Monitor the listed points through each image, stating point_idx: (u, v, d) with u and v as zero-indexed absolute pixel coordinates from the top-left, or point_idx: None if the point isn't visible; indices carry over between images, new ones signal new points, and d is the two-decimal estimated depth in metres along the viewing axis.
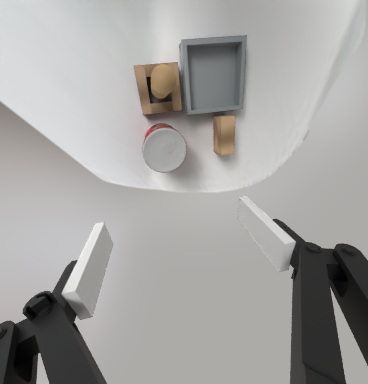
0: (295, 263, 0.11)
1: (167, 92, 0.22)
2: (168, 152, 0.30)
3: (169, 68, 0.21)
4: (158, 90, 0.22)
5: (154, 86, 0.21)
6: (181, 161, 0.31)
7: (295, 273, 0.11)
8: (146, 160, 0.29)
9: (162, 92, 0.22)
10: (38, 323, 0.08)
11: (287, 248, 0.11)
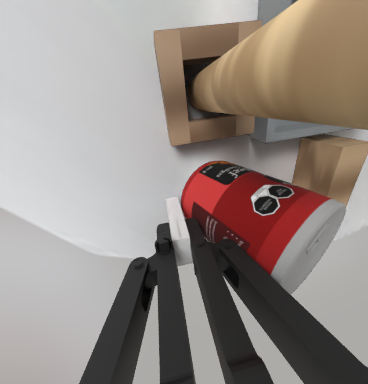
0: (193, 261, 0.12)
1: None
2: (311, 250, 0.12)
3: None
4: (360, 110, 0.03)
5: (350, 84, 0.03)
6: (320, 255, 0.14)
7: (196, 270, 0.12)
8: None
9: None
10: (160, 257, 0.11)
11: (183, 243, 0.12)
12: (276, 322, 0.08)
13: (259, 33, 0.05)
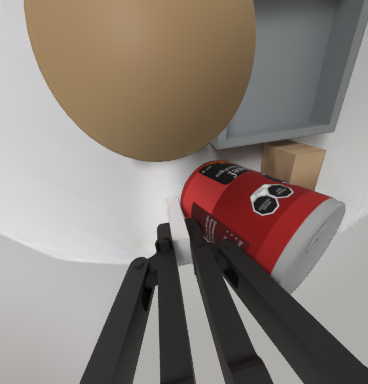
0: (193, 261, 0.12)
1: (182, 149, 0.03)
2: (311, 250, 0.12)
3: None
4: (117, 140, 0.03)
5: (80, 114, 0.03)
6: (320, 254, 0.14)
7: (196, 270, 0.12)
8: None
9: (147, 151, 0.03)
10: (160, 257, 0.11)
11: (183, 243, 0.12)
12: (276, 322, 0.08)
13: None
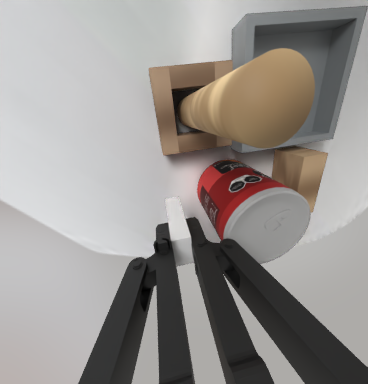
0: (194, 261, 0.12)
1: (276, 142, 0.07)
2: (273, 230, 0.15)
3: (302, 64, 0.06)
4: (250, 138, 0.06)
5: (240, 126, 0.06)
6: (293, 244, 0.16)
7: (197, 269, 0.12)
8: None
9: (261, 143, 0.07)
10: (159, 257, 0.11)
11: (184, 243, 0.12)
12: (277, 322, 0.08)
13: (211, 87, 0.09)
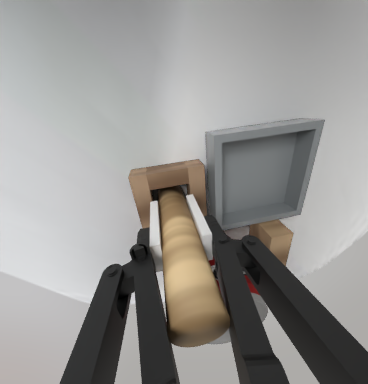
0: (214, 257, 0.12)
1: (206, 342, 0.09)
2: None
3: (217, 313, 0.08)
4: (185, 344, 0.09)
5: (176, 343, 0.08)
6: None
7: (216, 265, 0.12)
8: None
9: (194, 344, 0.09)
10: (136, 264, 0.11)
11: (205, 239, 0.12)
12: (296, 321, 0.08)
13: (167, 262, 0.11)
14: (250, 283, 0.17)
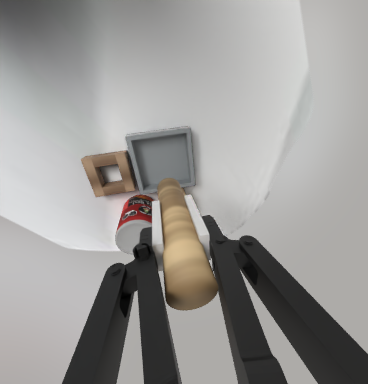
0: (212, 257, 0.12)
1: (198, 306, 0.11)
2: None
3: (205, 278, 0.10)
4: (180, 307, 0.10)
5: (172, 305, 0.10)
6: None
7: (214, 266, 0.12)
8: (119, 247, 0.31)
9: (188, 308, 0.11)
10: (139, 263, 0.11)
11: (203, 240, 0.12)
12: (294, 321, 0.08)
13: (165, 242, 0.12)
14: (148, 218, 0.31)
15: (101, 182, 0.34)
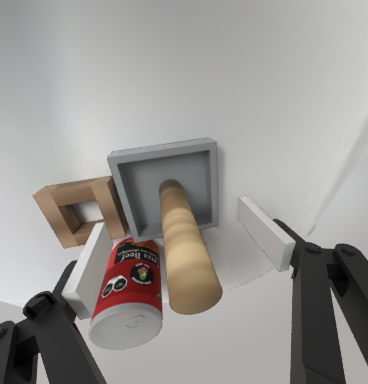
0: (295, 263, 0.11)
1: (202, 310, 0.11)
2: (132, 328, 0.19)
3: (210, 282, 0.09)
4: (184, 312, 0.10)
5: (176, 309, 0.10)
6: (155, 334, 0.19)
7: (295, 273, 0.11)
8: (97, 344, 0.18)
9: (192, 312, 0.10)
10: (38, 323, 0.08)
11: (287, 248, 0.11)
12: None
13: (168, 245, 0.12)
14: (146, 293, 0.19)
15: (72, 226, 0.22)
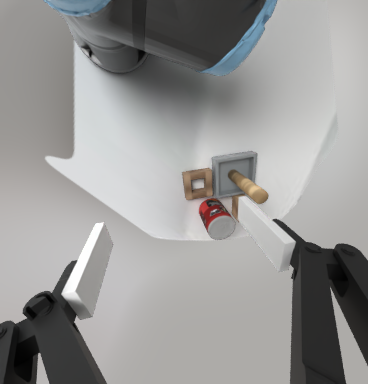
0: (295, 263, 0.11)
1: (262, 202, 0.38)
2: (223, 228, 0.46)
3: (265, 192, 0.37)
4: (257, 202, 0.38)
5: (256, 201, 0.38)
6: (231, 233, 0.47)
7: (295, 273, 0.11)
8: (209, 234, 0.46)
9: (259, 203, 0.38)
10: (38, 323, 0.08)
11: (287, 248, 0.11)
12: None
13: (248, 187, 0.40)
14: (229, 214, 0.46)
15: None
